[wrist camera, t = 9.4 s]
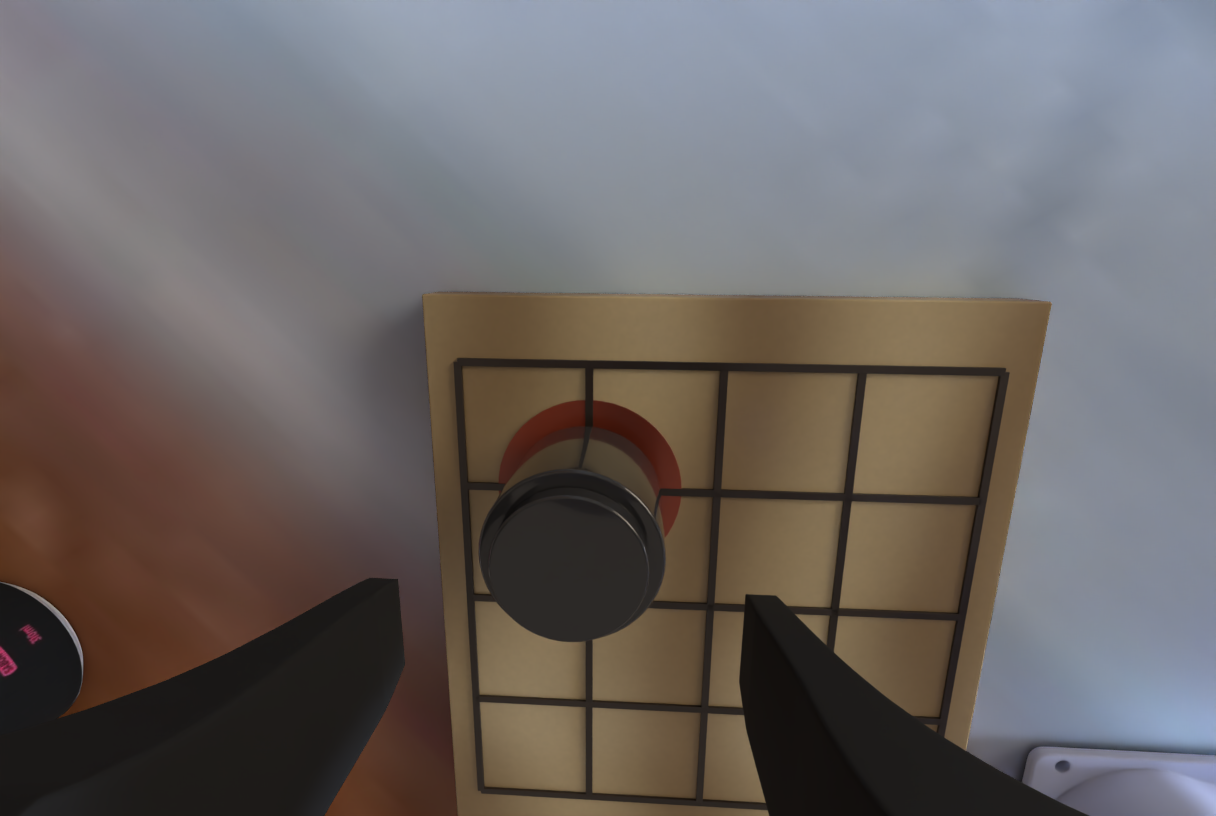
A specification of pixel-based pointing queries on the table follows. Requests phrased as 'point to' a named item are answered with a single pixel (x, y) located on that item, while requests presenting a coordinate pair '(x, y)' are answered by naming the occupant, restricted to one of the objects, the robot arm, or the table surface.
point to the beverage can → (35, 660)
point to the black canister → (576, 536)
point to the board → (726, 521)
